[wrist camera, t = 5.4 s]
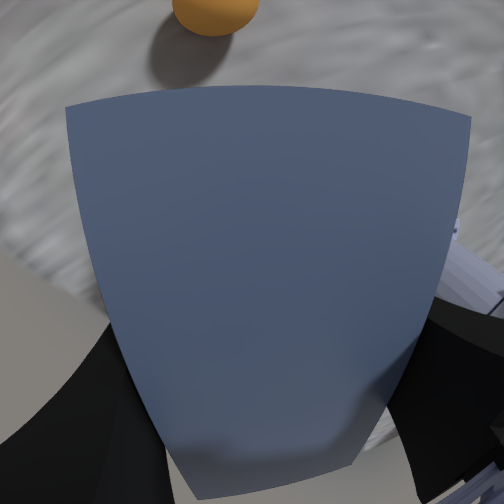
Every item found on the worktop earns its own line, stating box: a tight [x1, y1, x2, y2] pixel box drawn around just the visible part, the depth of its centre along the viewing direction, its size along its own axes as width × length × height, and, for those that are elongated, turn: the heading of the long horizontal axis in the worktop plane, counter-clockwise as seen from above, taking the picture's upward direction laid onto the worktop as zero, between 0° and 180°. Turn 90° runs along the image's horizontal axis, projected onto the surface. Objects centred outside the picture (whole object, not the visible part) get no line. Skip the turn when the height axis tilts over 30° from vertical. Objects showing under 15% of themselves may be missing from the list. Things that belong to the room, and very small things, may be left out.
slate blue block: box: [65, 86, 471, 500], centre depth 8 cm, size 12×6×5 cm, turn 1°
